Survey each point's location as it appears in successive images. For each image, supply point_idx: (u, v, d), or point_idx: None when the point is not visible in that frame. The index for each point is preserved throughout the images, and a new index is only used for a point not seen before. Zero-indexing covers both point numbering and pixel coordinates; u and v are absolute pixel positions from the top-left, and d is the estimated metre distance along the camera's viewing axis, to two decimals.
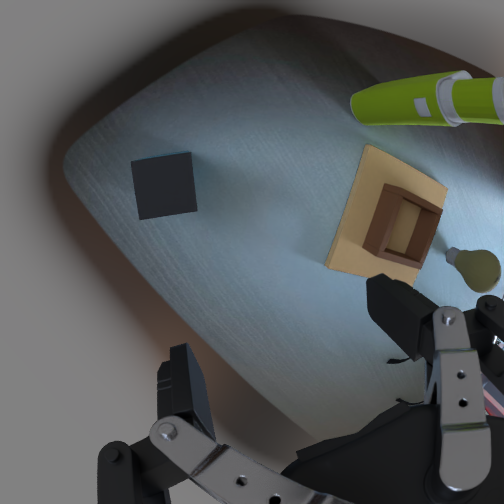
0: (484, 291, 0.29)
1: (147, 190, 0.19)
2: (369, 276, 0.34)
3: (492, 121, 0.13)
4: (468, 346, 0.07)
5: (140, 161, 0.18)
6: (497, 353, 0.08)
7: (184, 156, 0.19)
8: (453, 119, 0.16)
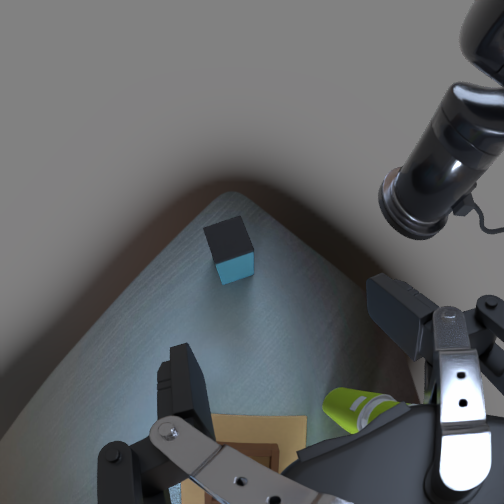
0: None
1: (223, 228, 0.30)
2: None
3: None
4: (468, 346, 0.07)
5: (241, 221, 0.31)
6: (497, 353, 0.08)
7: (250, 246, 0.30)
8: (363, 422, 0.19)
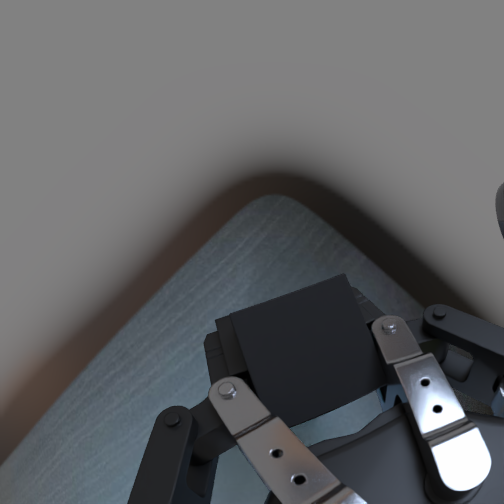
0: None
1: (296, 319, 0.09)
2: None
3: None
4: (419, 351, 0.08)
5: (349, 291, 0.09)
6: (453, 358, 0.09)
7: (379, 374, 0.08)
8: None
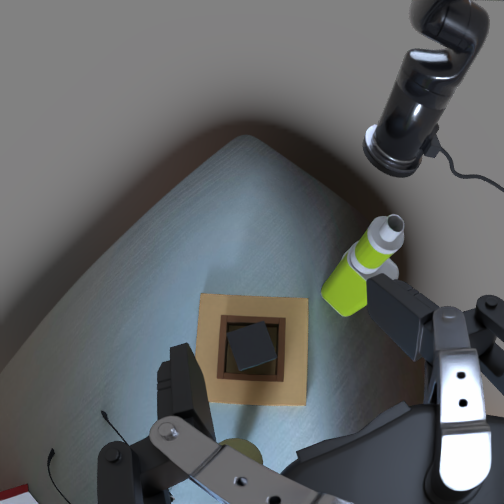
0: None
1: (246, 335, 0.29)
2: (197, 338, 0.37)
3: (364, 241, 0.25)
4: (468, 346, 0.07)
5: (265, 326, 0.30)
6: (497, 353, 0.08)
7: (273, 354, 0.29)
8: (351, 256, 0.28)
